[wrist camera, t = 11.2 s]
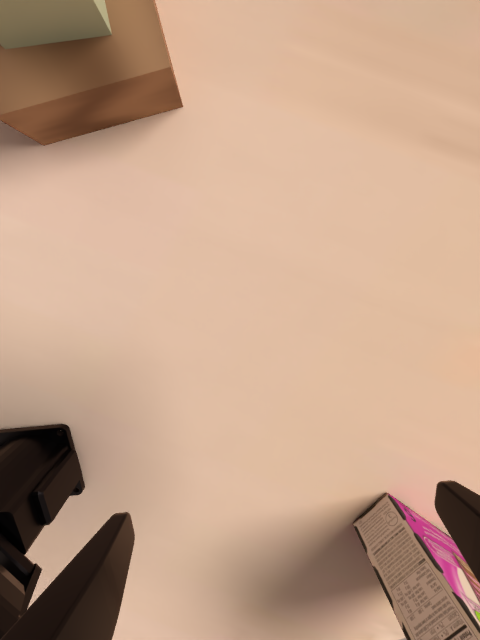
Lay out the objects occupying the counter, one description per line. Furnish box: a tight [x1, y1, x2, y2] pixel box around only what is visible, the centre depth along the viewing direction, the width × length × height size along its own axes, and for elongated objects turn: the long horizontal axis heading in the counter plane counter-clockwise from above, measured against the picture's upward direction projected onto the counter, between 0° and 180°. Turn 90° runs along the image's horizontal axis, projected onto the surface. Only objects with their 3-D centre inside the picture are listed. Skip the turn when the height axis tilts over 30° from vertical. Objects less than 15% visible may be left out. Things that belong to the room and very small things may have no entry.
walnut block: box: [0, 0, 183, 145], centre depth 14 cm, size 9×9×4 cm
